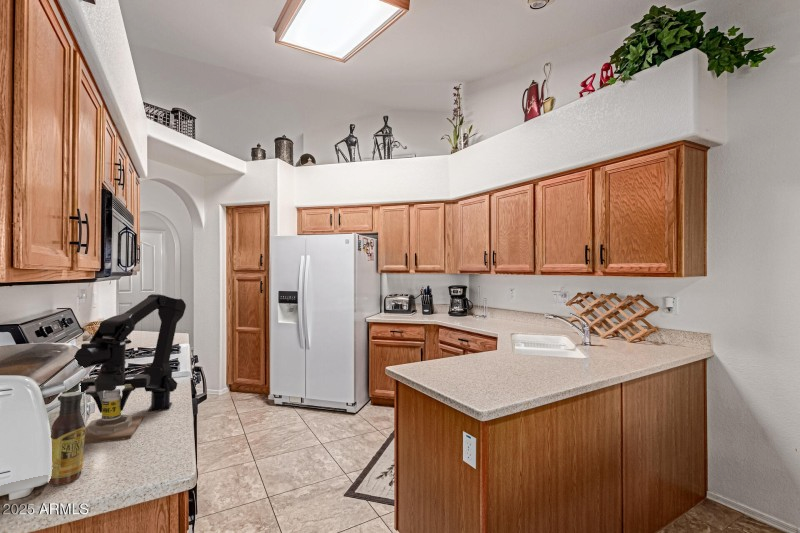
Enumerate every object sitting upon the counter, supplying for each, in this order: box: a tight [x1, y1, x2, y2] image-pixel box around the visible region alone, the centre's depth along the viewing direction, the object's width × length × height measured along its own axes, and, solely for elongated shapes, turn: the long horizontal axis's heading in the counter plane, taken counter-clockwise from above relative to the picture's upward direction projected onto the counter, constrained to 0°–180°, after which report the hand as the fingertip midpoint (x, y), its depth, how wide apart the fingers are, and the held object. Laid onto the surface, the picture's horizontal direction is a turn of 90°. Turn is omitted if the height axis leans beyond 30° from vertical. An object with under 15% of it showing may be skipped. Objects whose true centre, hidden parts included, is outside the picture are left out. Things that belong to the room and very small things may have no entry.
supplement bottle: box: [101, 388, 122, 421], centre depth 117 cm, size 5×5×8 cm
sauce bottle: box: [47, 391, 86, 486], centre depth 89 cm, size 7×6×20 cm
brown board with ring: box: [84, 414, 145, 445], centre depth 116 cm, size 16×14×3 cm
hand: (111, 411), depth 117 cm, fingers closed on supplement bottle, 5 cm apart
